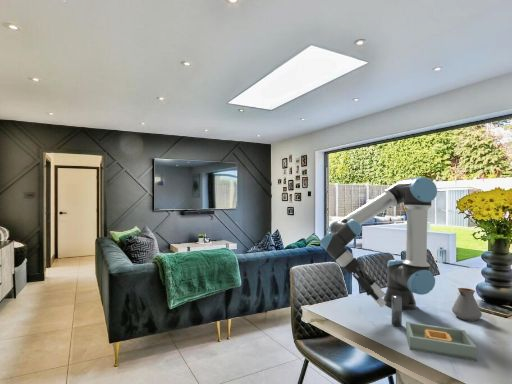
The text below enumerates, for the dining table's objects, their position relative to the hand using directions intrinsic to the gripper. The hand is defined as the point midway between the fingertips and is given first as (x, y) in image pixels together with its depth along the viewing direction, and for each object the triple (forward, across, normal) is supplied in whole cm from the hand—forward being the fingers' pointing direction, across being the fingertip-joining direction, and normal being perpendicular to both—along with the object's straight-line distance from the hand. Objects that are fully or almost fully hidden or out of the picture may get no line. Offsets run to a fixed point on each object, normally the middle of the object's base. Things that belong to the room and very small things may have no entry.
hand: (383, 300), depth 134 cm
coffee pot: (+31, -19, +17) cm, 40 cm away
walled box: (+20, +15, +6) cm, 26 cm away
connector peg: (+11, -1, -3) cm, 11 cm away
